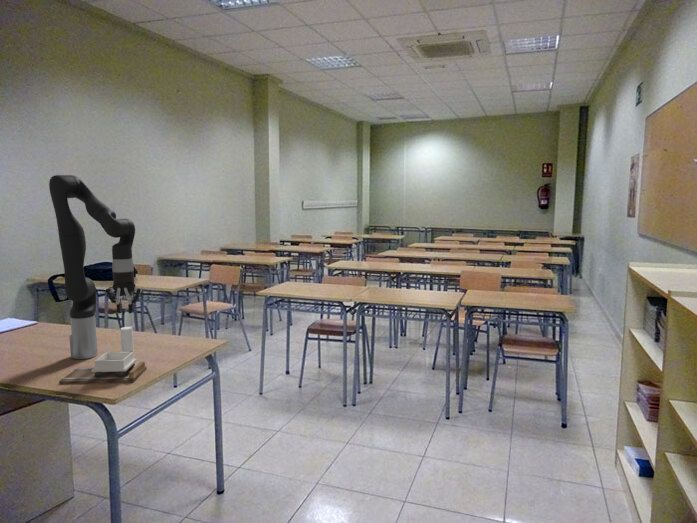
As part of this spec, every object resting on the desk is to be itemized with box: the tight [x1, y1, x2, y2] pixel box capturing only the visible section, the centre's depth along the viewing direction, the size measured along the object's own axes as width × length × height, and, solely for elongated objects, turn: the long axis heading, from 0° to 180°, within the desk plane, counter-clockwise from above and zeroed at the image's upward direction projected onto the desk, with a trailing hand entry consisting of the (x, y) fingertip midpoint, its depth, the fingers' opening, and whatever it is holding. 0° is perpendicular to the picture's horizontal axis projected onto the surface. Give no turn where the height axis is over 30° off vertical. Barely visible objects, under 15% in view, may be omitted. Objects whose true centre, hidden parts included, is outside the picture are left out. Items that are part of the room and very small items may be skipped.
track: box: [58, 361, 147, 385], centre depth 186 cm, size 26×14×3 cm, turn 94°
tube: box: [120, 326, 135, 352], centre depth 198 cm, size 4×4×15 cm
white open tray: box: [91, 351, 138, 378], centre depth 186 cm, size 12×12×6 cm
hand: (125, 312), depth 197 cm, fingers open, 3 cm apart
